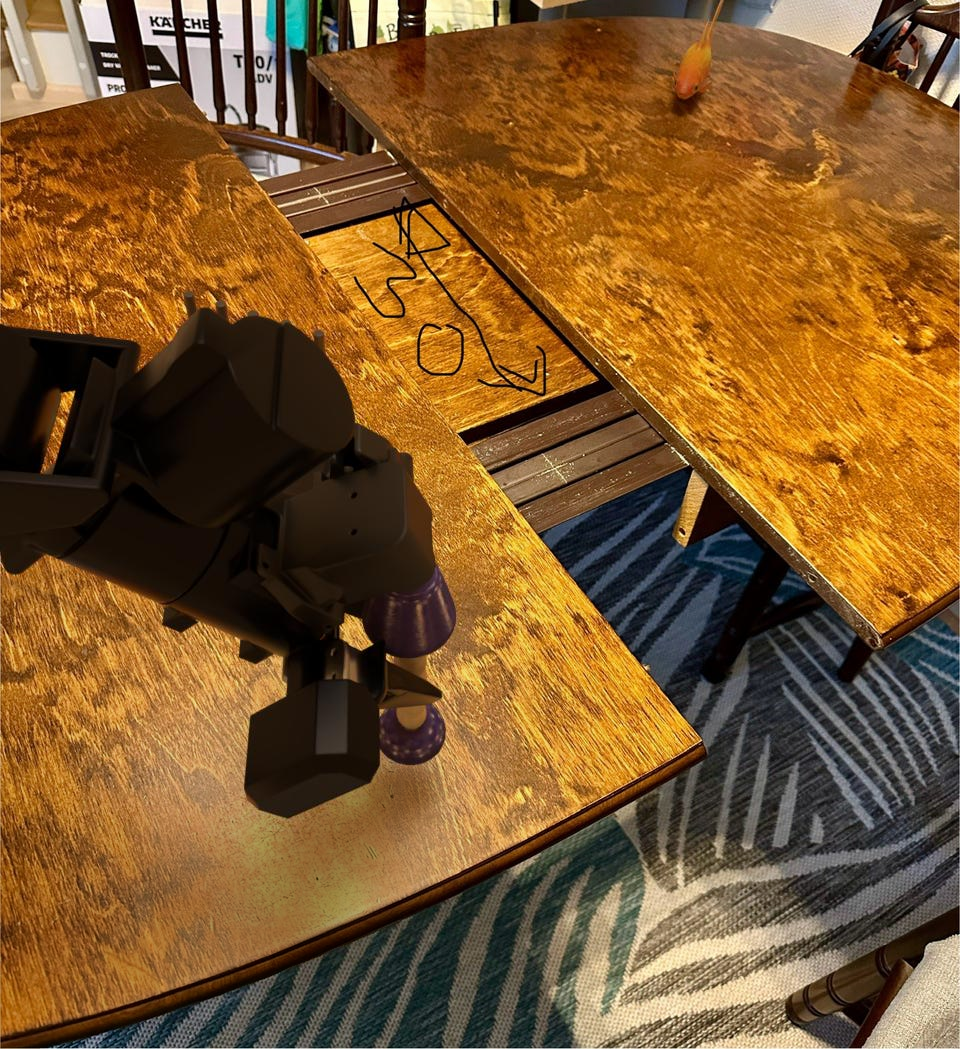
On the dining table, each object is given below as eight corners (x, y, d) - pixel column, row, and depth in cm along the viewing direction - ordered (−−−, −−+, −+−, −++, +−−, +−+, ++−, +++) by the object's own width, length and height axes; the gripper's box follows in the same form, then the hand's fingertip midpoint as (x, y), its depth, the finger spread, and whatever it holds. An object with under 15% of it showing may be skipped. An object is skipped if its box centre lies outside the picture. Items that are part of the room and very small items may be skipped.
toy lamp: (386, 782, 52) (388, 629, 39) (352, 717, 55) (344, 553, 42) (458, 747, 54) (483, 590, 41) (422, 685, 56) (435, 518, 43)
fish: (694, 131, 117) (715, 55, 109) (654, 121, 118) (671, 44, 110) (729, 53, 129) (750, -21, 121) (692, 44, 130) (710, -30, 122)
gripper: (308, 664, 29) (583, 786, 39) (324, 299, 40) (533, 465, 50) (109, 773, 34) (397, 856, 44) (174, 422, 45) (390, 550, 55)
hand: (434, 665), depth 48 cm, fingers closed on toy lamp, 4 cm apart
